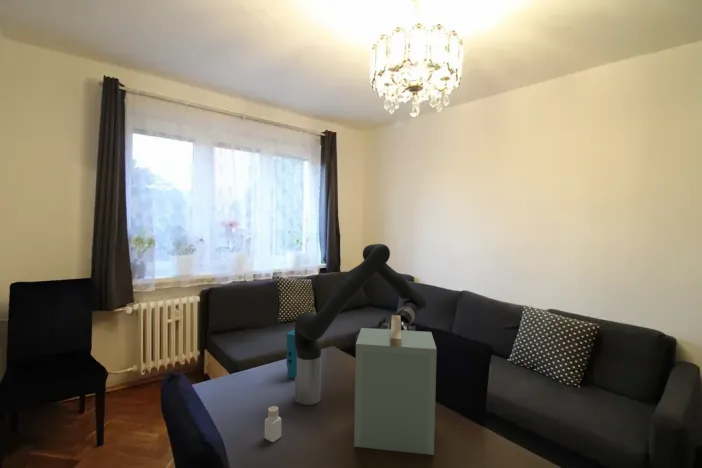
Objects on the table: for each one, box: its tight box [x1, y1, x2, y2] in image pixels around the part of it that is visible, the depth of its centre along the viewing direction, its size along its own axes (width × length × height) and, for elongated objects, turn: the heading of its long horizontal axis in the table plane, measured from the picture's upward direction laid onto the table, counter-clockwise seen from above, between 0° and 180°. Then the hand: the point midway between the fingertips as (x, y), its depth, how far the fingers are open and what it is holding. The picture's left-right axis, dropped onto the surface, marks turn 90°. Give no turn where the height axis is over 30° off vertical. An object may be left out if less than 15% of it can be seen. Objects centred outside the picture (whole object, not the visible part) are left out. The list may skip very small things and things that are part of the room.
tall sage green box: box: [353, 327, 438, 456], centre depth 111 cm, size 24×16×32 cm, turn 82°
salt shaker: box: [264, 405, 282, 443], centre depth 109 cm, size 4×4×10 cm
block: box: [286, 329, 297, 380], centre depth 154 cm, size 12×5×20 cm, turn 153°
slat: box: [390, 314, 401, 347], centre depth 115 cm, size 3×26×2 cm, turn 172°
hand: (390, 335), depth 131 cm, fingers open, 8 cm apart
